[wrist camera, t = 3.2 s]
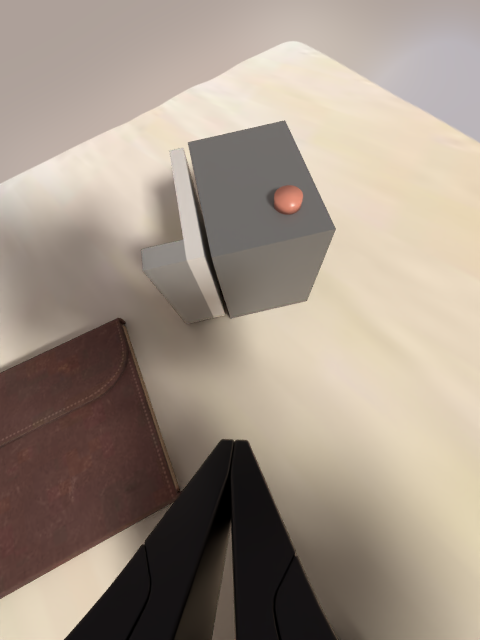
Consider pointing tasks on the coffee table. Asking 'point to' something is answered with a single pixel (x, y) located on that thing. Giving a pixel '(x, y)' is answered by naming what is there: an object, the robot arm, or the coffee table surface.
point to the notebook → (76, 453)
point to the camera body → (260, 217)
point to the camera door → (186, 256)
